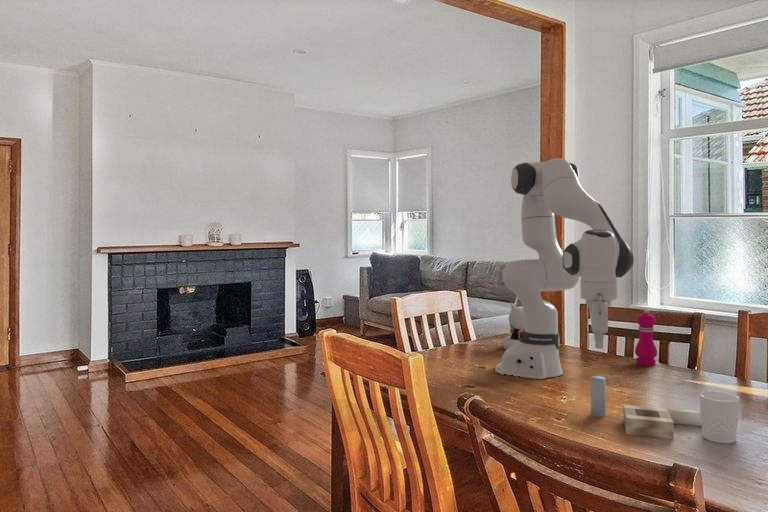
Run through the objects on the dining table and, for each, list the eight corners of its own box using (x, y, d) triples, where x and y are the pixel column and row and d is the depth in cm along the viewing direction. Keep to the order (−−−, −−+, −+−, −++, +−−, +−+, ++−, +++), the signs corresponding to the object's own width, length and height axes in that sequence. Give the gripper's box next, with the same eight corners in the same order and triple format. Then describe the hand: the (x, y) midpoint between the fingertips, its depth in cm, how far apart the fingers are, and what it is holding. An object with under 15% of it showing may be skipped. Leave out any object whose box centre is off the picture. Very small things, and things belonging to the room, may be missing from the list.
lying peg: (664, 411, 138) (665, 425, 136) (665, 406, 135) (667, 420, 133) (708, 415, 135) (710, 429, 133) (711, 410, 132) (713, 424, 130)
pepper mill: (659, 366, 188) (660, 310, 187) (637, 366, 190) (638, 310, 189) (653, 361, 195) (654, 307, 194) (632, 361, 197) (632, 307, 196)
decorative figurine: (532, 345, 226) (532, 298, 225) (544, 353, 211) (544, 303, 210) (498, 346, 225) (497, 299, 224) (508, 354, 211) (507, 304, 210)
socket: (626, 434, 128) (626, 417, 128) (623, 420, 138) (623, 404, 137) (673, 439, 125) (673, 422, 125) (666, 424, 134) (666, 408, 134)
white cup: (691, 432, 129) (692, 391, 128) (722, 431, 129) (723, 390, 129) (714, 445, 121) (715, 402, 120) (747, 444, 121) (748, 400, 121)
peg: (590, 416, 140) (590, 379, 140) (590, 412, 144) (590, 375, 143) (605, 418, 139) (605, 380, 139) (604, 413, 143) (605, 376, 142)
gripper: (614, 297, 129) (613, 353, 130) (609, 288, 148) (609, 337, 149) (586, 296, 131) (586, 352, 132) (585, 287, 150) (585, 336, 151)
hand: (598, 344), depth 140 cm, fingers open, 8 cm apart
